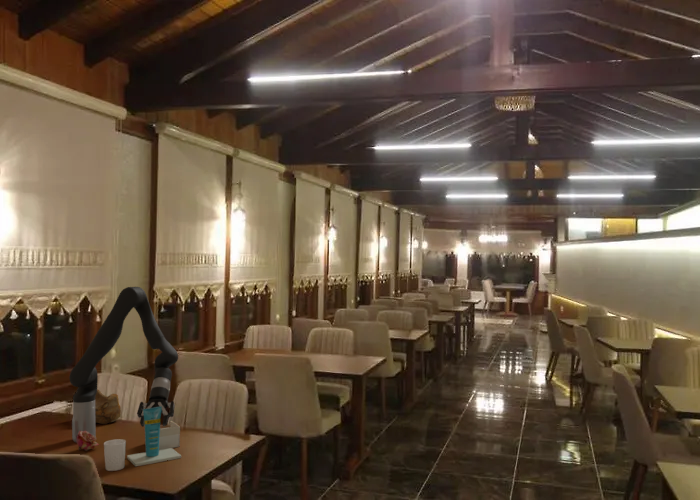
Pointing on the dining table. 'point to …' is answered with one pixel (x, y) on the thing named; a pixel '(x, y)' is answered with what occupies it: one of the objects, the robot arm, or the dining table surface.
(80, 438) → the flower
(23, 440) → the dining table surface
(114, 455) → the white cup
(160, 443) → the carton
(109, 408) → the rough brown rock
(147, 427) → the tube
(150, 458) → the tile
